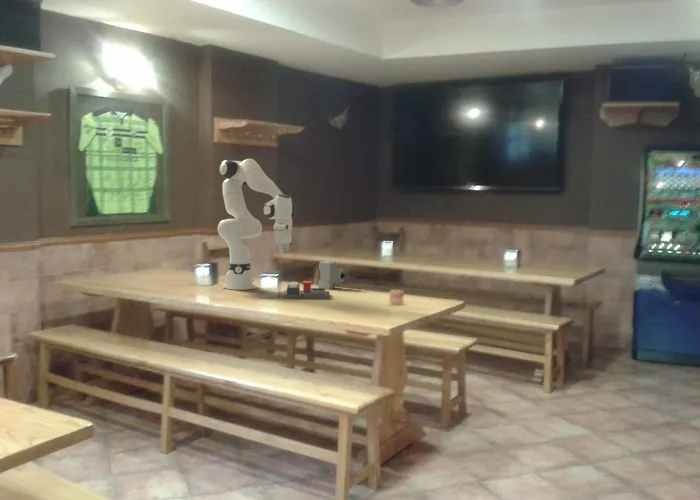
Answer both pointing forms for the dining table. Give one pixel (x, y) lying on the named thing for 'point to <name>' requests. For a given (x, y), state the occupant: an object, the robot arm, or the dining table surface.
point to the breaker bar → (293, 285)
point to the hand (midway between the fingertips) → (283, 252)
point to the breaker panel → (306, 293)
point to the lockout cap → (307, 285)
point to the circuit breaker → (329, 275)
